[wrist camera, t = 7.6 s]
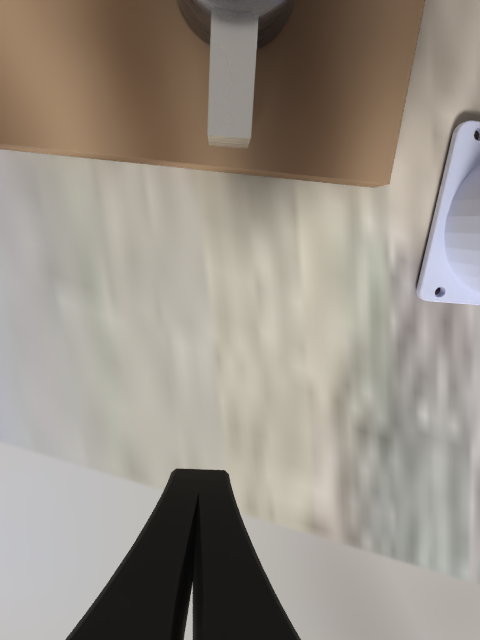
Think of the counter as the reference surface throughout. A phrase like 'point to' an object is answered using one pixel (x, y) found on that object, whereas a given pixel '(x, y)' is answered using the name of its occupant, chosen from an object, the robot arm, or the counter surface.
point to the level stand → (193, 87)
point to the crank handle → (233, 58)
